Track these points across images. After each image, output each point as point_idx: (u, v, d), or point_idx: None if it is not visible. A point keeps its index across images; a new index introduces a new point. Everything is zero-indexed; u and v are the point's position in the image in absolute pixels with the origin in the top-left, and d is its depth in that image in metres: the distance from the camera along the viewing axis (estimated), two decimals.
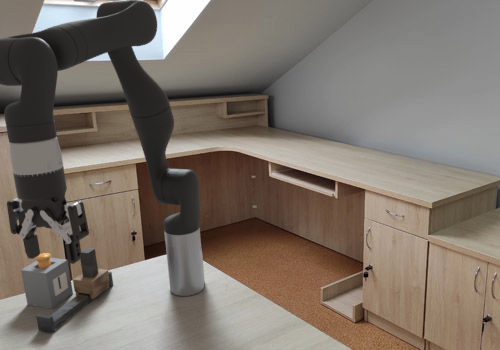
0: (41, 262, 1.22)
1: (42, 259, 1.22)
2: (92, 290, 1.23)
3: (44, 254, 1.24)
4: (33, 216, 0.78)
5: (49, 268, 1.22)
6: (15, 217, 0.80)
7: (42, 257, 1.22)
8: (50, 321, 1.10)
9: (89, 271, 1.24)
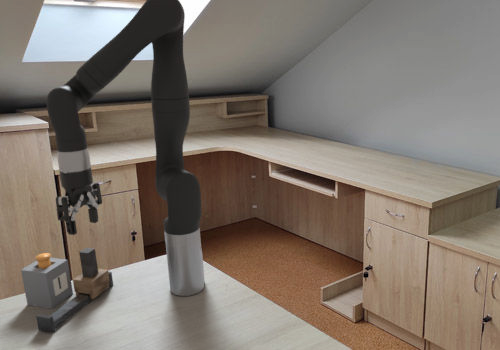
0: (41, 262, 1.22)
1: (42, 259, 1.22)
2: (92, 290, 1.23)
3: (44, 254, 1.24)
4: (82, 199, 1.19)
5: (49, 268, 1.22)
6: None
7: (42, 257, 1.22)
8: (50, 321, 1.10)
9: (89, 271, 1.24)
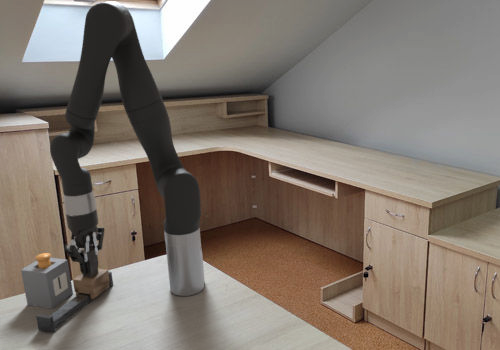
0: (41, 262, 1.22)
1: (42, 259, 1.22)
2: (92, 290, 1.23)
3: (44, 254, 1.24)
4: (88, 239, 1.22)
5: (49, 268, 1.22)
6: (77, 251, 1.20)
7: (42, 257, 1.22)
8: (50, 321, 1.10)
9: None
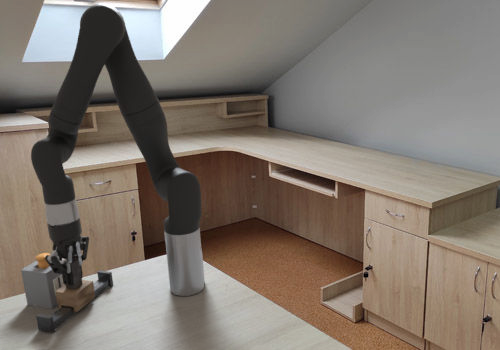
0: (41, 262, 1.22)
1: (42, 259, 1.22)
2: (75, 303, 1.17)
3: (44, 254, 1.24)
4: (71, 249, 1.16)
5: (49, 268, 1.22)
6: (59, 263, 1.14)
7: (42, 257, 1.22)
8: (50, 321, 1.10)
9: None
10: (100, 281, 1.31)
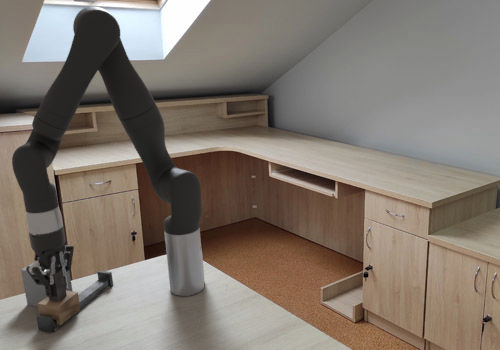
0: None
1: None
2: (59, 316, 1.12)
3: None
4: (54, 259, 1.11)
5: None
6: (41, 274, 1.08)
7: None
8: (50, 321, 1.10)
9: None
10: (100, 281, 1.31)
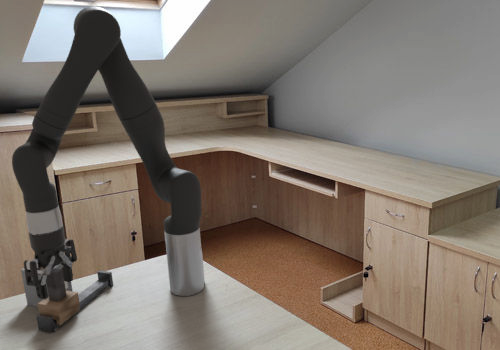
0: None
1: None
2: (58, 316, 1.12)
3: None
4: (53, 261, 1.11)
5: None
6: (36, 272, 1.07)
7: None
8: (50, 321, 1.10)
9: (56, 294, 1.13)
10: (100, 281, 1.31)
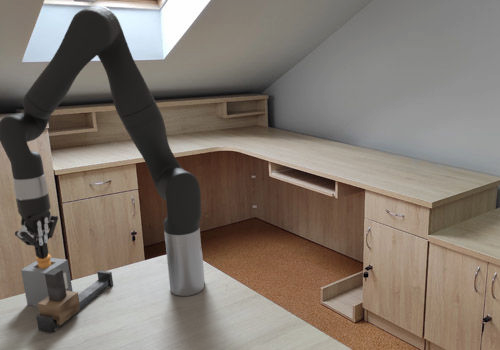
0: (42, 264, 1.22)
1: (42, 260, 1.22)
2: (58, 316, 1.12)
3: None
4: (40, 223, 1.20)
5: (49, 268, 1.22)
6: (30, 236, 1.18)
7: None
8: (50, 321, 1.10)
9: (56, 294, 1.13)
10: (100, 281, 1.31)
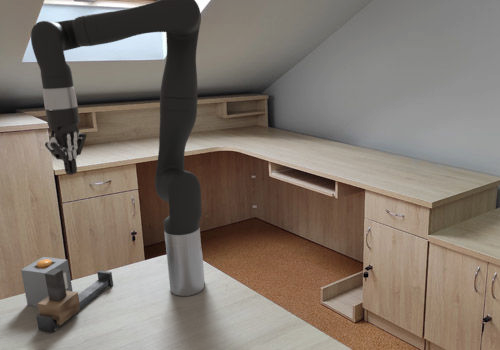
0: None
1: (43, 265, 1.22)
2: (58, 316, 1.12)
3: (45, 260, 1.25)
4: (69, 137, 1.18)
5: (49, 268, 1.22)
6: None
7: (43, 263, 1.23)
8: (50, 321, 1.10)
9: (56, 294, 1.13)
10: (100, 281, 1.31)
